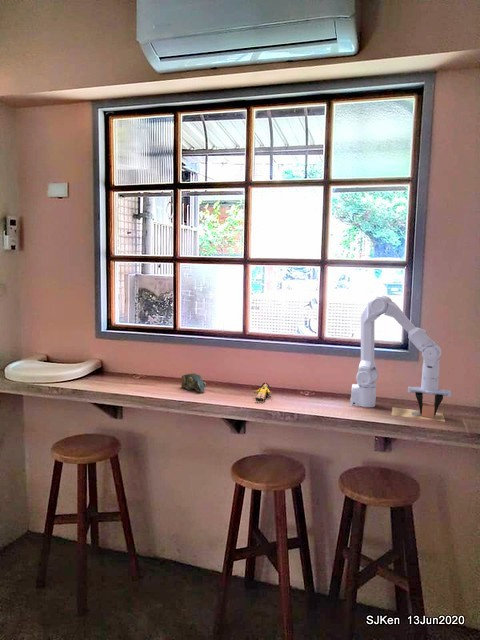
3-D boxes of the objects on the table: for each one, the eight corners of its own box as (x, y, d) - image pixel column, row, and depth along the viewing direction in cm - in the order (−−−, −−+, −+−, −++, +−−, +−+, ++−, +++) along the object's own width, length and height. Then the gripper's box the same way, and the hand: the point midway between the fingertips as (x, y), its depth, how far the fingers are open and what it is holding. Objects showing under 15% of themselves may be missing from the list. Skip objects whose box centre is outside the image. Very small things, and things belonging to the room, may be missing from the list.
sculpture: (209, 392, 200) (209, 376, 199) (196, 394, 196) (196, 378, 196) (192, 386, 210) (192, 371, 210) (180, 388, 206) (180, 372, 206)
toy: (249, 395, 187) (257, 380, 201) (249, 406, 188) (257, 390, 202) (268, 397, 185) (275, 382, 199) (268, 408, 186) (274, 391, 200)
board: (391, 418, 171) (391, 414, 171) (392, 410, 182) (392, 407, 181) (445, 424, 165) (445, 421, 165) (442, 416, 176) (442, 412, 176)
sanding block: (422, 416, 170) (422, 405, 170) (421, 412, 176) (422, 401, 175) (433, 418, 169) (434, 407, 168) (432, 413, 174) (433, 403, 174)
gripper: (409, 377, 169) (406, 414, 171) (453, 381, 165) (450, 419, 166) (409, 373, 176) (406, 409, 177) (451, 377, 171) (448, 413, 173)
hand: (427, 413), depth 172 cm, fingers closed on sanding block, 4 cm apart
